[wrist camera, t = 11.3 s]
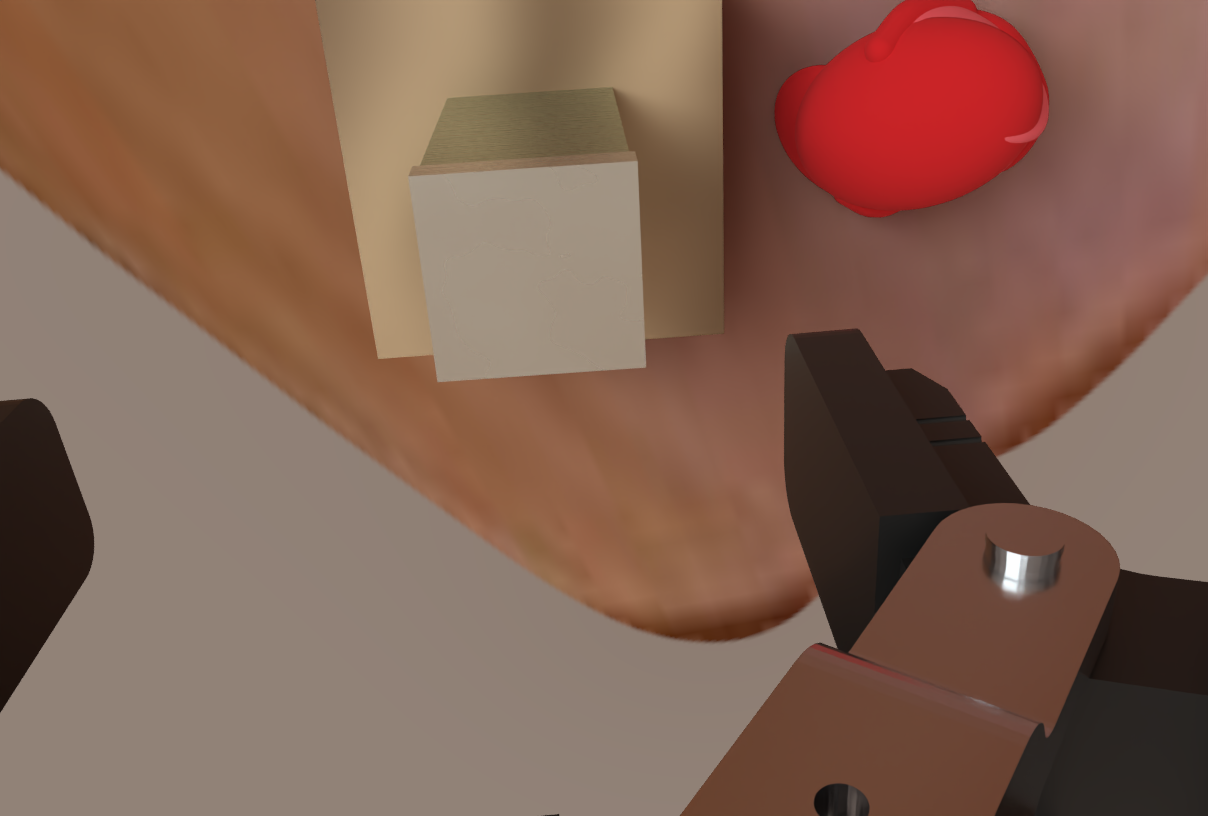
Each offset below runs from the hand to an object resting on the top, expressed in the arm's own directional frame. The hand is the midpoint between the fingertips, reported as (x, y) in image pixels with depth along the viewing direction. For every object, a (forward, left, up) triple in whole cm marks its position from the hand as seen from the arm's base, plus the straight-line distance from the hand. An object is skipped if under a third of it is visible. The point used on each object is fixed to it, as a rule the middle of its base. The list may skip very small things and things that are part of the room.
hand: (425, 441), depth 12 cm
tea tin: (-1, +2, -19) cm, 20 cm away
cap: (-12, +2, -25) cm, 28 cm away
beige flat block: (-1, +3, -24) cm, 25 cm away
